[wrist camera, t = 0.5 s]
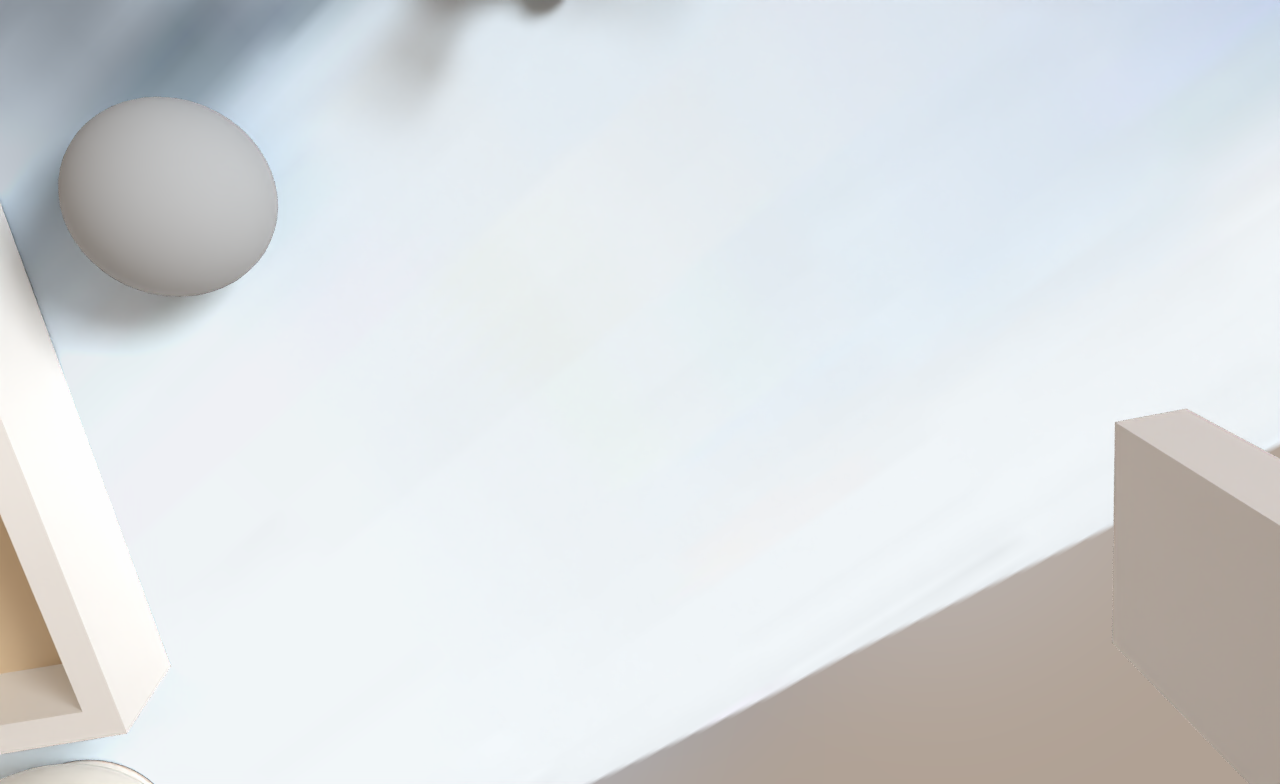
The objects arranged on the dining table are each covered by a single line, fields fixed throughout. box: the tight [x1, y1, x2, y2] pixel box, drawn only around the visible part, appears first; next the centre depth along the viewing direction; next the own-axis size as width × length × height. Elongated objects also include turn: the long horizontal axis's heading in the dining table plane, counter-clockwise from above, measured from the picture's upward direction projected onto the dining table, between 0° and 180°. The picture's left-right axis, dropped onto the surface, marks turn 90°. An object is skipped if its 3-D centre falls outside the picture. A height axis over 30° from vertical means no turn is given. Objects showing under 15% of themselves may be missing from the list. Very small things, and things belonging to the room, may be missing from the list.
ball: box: [58, 97, 278, 297], centre depth 28 cm, size 6×6×6 cm
